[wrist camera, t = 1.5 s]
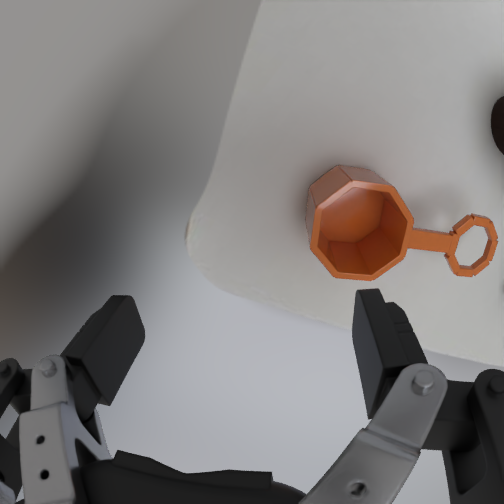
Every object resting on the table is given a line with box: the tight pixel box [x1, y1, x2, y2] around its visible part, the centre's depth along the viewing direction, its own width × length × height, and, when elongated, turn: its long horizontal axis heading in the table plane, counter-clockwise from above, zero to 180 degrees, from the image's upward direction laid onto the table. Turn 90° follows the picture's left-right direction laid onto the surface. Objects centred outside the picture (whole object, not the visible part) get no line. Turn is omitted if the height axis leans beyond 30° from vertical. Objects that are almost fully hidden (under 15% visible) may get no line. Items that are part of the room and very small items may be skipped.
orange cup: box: [305, 165, 498, 281], centre depth 22 cm, size 16×7×6 cm, turn 87°
